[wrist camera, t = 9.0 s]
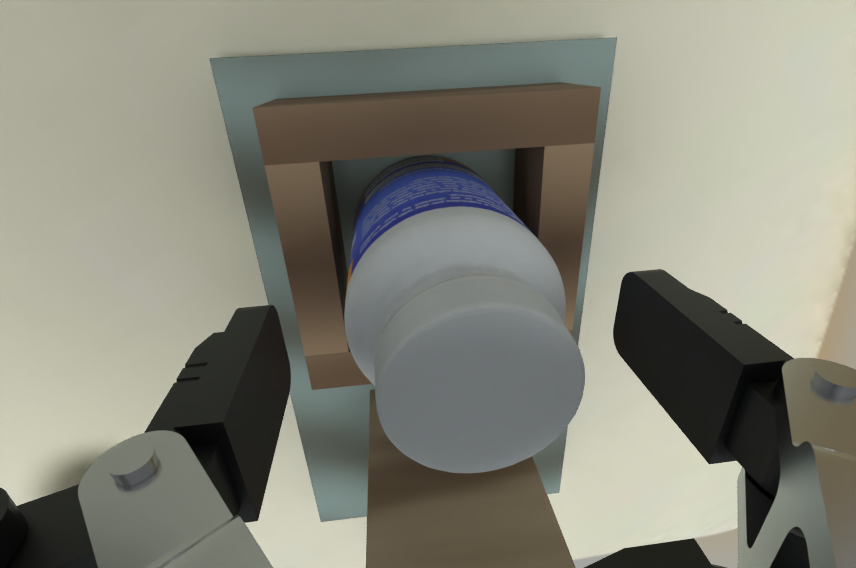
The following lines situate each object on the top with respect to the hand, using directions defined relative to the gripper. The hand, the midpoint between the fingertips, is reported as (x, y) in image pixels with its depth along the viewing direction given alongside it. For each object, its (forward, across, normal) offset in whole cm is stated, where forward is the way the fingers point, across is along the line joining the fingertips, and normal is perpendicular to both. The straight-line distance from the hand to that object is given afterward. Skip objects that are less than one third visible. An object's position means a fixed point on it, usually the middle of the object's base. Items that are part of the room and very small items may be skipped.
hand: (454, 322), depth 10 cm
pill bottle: (+7, 0, 0) cm, 7 cm away
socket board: (+8, 0, +5) cm, 10 cm away
